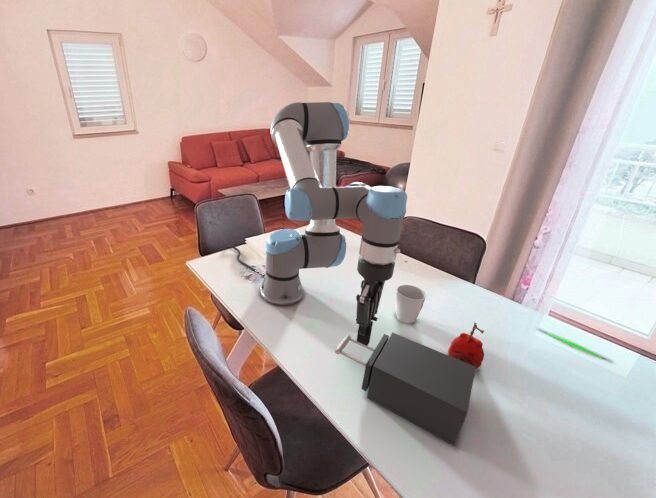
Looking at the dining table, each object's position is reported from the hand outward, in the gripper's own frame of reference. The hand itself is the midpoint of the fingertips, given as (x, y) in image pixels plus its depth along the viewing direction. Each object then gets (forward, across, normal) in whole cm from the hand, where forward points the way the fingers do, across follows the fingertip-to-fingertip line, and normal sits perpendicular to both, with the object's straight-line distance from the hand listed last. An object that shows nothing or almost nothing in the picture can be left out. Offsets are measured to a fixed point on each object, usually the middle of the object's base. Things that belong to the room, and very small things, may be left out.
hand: (362, 341), depth 78 cm
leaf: (+10, +47, -44) cm, 65 cm away
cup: (+9, +29, -4) cm, 31 cm away
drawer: (+8, 0, -7) cm, 11 cm away
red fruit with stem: (+9, +19, -21) cm, 30 cm away
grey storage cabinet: (+9, 0, -14) cm, 17 cm away
